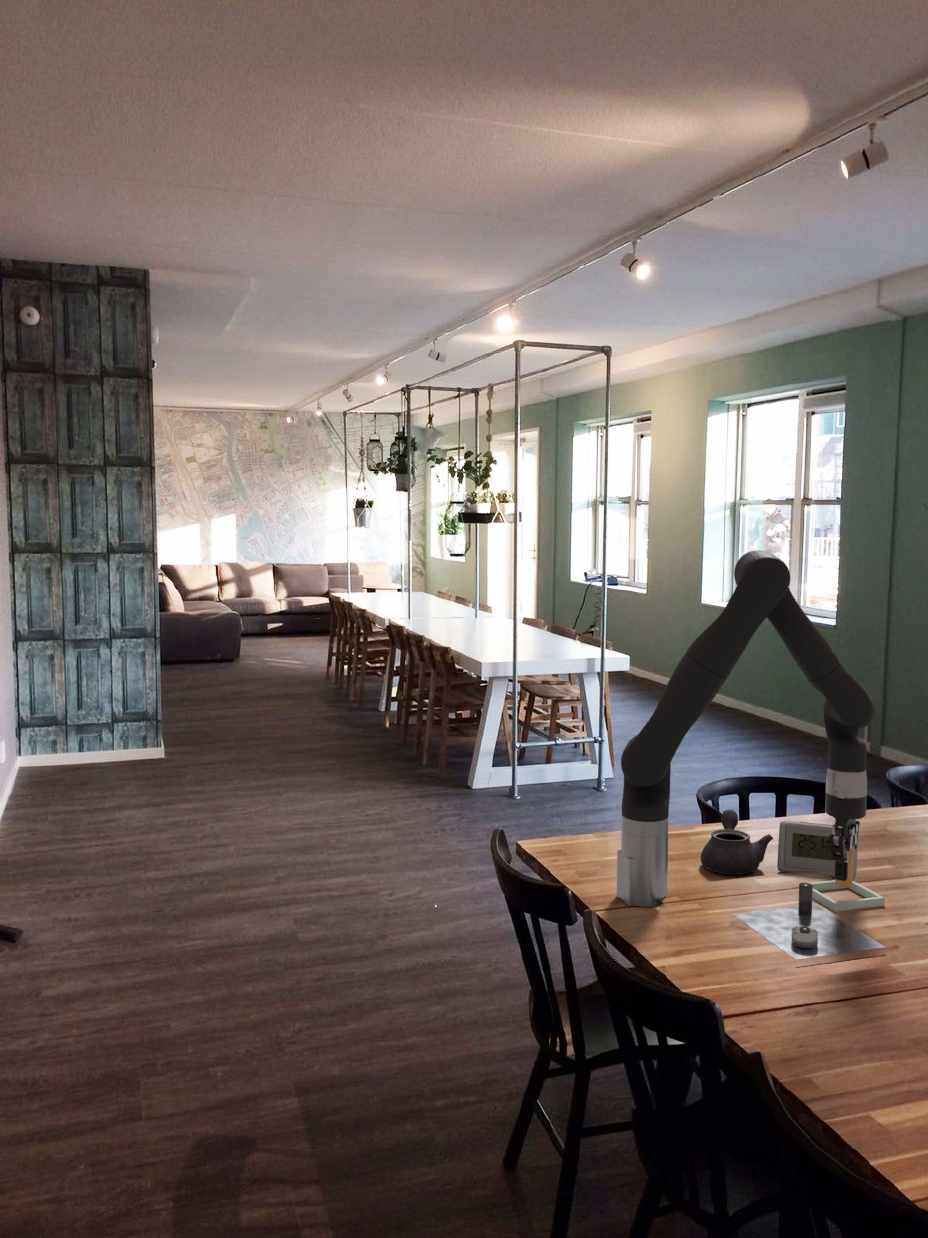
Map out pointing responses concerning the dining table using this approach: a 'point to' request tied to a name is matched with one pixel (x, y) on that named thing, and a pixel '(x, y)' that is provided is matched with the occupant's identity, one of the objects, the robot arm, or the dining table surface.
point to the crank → (805, 919)
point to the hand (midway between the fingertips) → (843, 876)
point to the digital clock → (807, 848)
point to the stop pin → (849, 880)
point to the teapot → (733, 848)
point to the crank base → (830, 928)
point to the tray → (869, 900)
